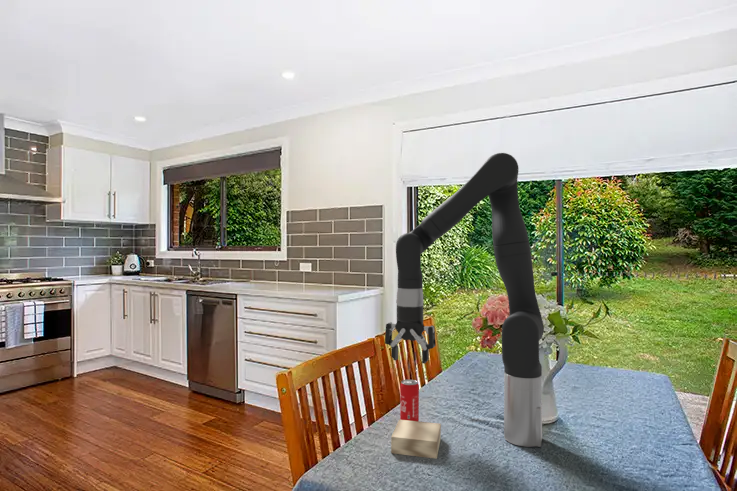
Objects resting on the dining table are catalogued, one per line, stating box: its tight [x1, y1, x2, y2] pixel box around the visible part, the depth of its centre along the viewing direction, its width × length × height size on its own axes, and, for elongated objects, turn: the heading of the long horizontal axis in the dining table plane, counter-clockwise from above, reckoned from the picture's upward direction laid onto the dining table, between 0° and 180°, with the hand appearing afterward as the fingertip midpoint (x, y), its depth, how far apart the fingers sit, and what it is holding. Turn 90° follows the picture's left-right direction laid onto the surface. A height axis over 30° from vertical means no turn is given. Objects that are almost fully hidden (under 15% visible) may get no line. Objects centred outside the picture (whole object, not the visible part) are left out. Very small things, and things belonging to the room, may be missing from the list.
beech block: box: [390, 419, 442, 460], centre depth 111 cm, size 11×11×4 cm
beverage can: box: [399, 379, 420, 422], centre depth 124 cm, size 5×5×12 cm
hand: (409, 361), depth 124 cm, fingers open, 8 cm apart
